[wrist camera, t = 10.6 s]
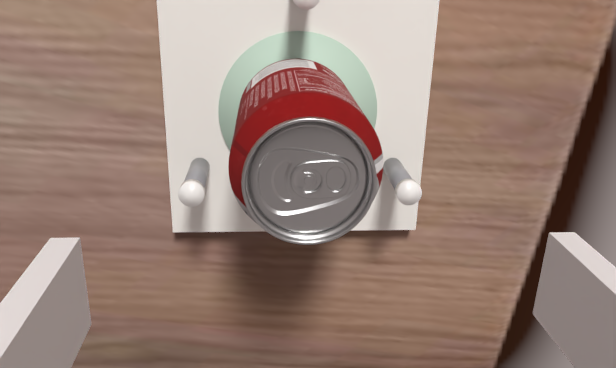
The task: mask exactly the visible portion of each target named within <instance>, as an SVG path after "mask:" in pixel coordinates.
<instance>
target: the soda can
mask: <svg viewBox="0 0 616 368" xmlns="http://www.w3.org/2000/svg"><path fill="white" fill-rule="evenodd" d="M228 168H229V179H230V184H231V188H232V190H233V193H234V196H235V198H236V200H237V202H238V203H239V205H240V206H241V208H242V209H243V210H244V212H245V213H246V214H247V215H248V216H249V217H250V218H251V219H252V220H253V221H254V222H255V223H257V224H258V225H259V226H260V227H261V228H263V229H264V230H265V231H266V232H268V233H269V234H271V235H272V236H274V237H276V238H278V239H280V240H283V241H286V242H289V243H294V244H301V245H314V244H321V243H325V242H329V241H332V240H334V239H337V238H339V237H341V236H343V235H344V234H346V233H348V232H349V231H350V230H352V229H353V228H354V227H355V226H356V225H357V224H358V223H359V222H360V221H361V220H362V219H363V218H364V216H365V215H366V213H367V212H368V210H369V208H370V206H371V204H372V202H373V200H374V199H375V197H376V195H377V192H378V190H379V187H380V184H381V180H382V175H383V153H382V148H381V144H380V141H379V138H378V136H377V134H376V132H375V130H374V128H373V127H372V125H371V123H370V122H369V120H368V119H367V117H366V116H365V114H364V113H363V111H362V110H361V109H360V107H359V106H358V104H357V103H356V101H355V100H354V98H353V97H352V95H351V94H350V92H349V91H348V89H347V88H346V86H345V85H344V83H343V82H342V81H341V79H340V78H339V77H338V76H337V75H336V74H335V73H334V72H333V71H332V70H330V69H329V68H327V67H326V66H324V65H322V64H320V63H318V62H315V61H312V60H308V59H301V58H292V59H285V60H280V61H277V62H274V63H272V64H270V65H268V66H266V67H265V68H263V69H262V70H260V71H259V72H258V73H257V74H256V75H255V76H254V77H253V78H252V79H251V80H250V82H249V83H248V85H247V86H246V88H245V90H244V92H243V94H242V97H241V100H240V104H239V109H238V114H237V119H236V124H235V129H234V134H233V139H232V144H231V149H230V155H229V165H228Z"/></svg>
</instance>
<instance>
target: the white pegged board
mask: <svg viewBox="0 0 616 368" xmlns="http://www.w3.org/2000/svg"><path fill="white" fill-rule="evenodd" d="M438 9H439V0H157V11H158V25H159V39H160V54H161V68H162V83H163V97H164V111H165V126H166V140H167V154H168V169H169V183H170V198H171V212H172V226H173V232H253V231H265V230H264V229H263V228H261V227H260V226H259V225H258V224H257V223H255V222H254V221H253V220H252V219H251V218H250V217H249V216H248V215H247V214H246V213H245V212H244V210H243V209H242V208H241V206H240V205H239V203H238V202H237V200H236V198H235V196H234V193H233V190H232V188H231V184H230V179H229V168H228V165H229V155H230V149H231V144H232V139H233V134H234V129H235V124H236V119H237V114H238V109H239V104H240V100H241V97H242V94H243V92H244V90H245V88H246V86H247V85H248V83H249V82H250V80H251V79H252V78H253V77H254V76H255V75H256V74H257V73H258V72H259V71H260V70H262V69H263V68H265V67H266V66H268V65H270V64H272V63H274V62H277V61H280V60H285V59H292V58H301V59H308V60H312V61H315V62H318V63H320V64H322V65H324V66H326V67H327V68H329V69H330V70H332V71H333V72H334V73H335V74H336V75H337V76H338V77H339V78H340V79H341V81H342V82H343V83H344V85H345V86H346V88H347V89H348V91H349V92H350V94H351V95H352V97H353V98H354V100H355V101H356V103H357V104H358V106H359V107H360V109H361V110H362V111H363V113H364V114H365V116H366V117H367V119H368V120H369V122H370V123H371V125H372V127H373V128H374V130H375V132H376V134H377V136H378V138H379V141H380V144H381V148H382V153H383V175H382V180H381V184H380V187H379V190H378V192H377V195H376V197H375V199H374V200H373V202H372V204H371V206H370V208H369V210H368V212H367V213H366V215H365V216H364V218H363V219H362V220H361V221H360V222H359V223H358V224H357V225H356V226H355V227H354V228H353V229H352V230H350V231H353V230H415V229H416V220H417V210H418V201H419V200H420V198H421V196H422V190H421V188H420V181H421V172H422V162H423V153H424V143H425V133H426V124H427V114H428V105H429V95H430V86H431V76H432V66H433V57H434V47H435V38H436V28H437V18H438Z"/></svg>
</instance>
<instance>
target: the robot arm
mask: <svg viewBox="0 0 616 368" xmlns="http://www.w3.org/2000/svg"><path fill="white" fill-rule="evenodd" d="M533 315H534V316H535V317H536V319H537V320H538V321H539V323H540V324H541V325H542V326H543V328H544V329H545V330H546V332H547V333H548V334H549V335H550V337H551V338H552V339H553V340H554V342H555V343H556V344H557V346H558V347H559V348H560V349H561V351H562V352H563V353H564V355H565V356H566V357H567V358H568V360H569V361H570V362H571V364H572V365H573V366H574V367H575V368H616V267H615V266H613V265H612V264H611V263H610V262H609V261H608V260H606V259H605V258H604V257H603V256H602V255H601V254H599V253H598V252H597V251H596V250H595V249H594V248H592V247H591V246H590V245H589V244H588V243H586V242H585V241H584V240H583V239H582V238H581V237H579V236H578V235H577V234H576V233H574V232H570V233H569V232H565V233H564V232H562V233H549V236H548V241H547V246H546V251H545V255H544V260H543V265H542V270H541V275H540V280H539V285H538V290H537V295H536V300H535V305H534V310H533ZM90 326H91V317H90V309H89V302H88V294H87V287H86V279H85V272H84V265H83V257H82V250H81V242H80V238H50V239H49V241H48V242H47V243H46V244H45V246H44V247H43V248H42V250H41V251H40V252H39V254H38V255H37V256H36V257H35V259H34V260H33V261H32V263H31V264H30V265H29V267H28V268H27V269H26V270H25V272H24V273H23V274H22V276H21V277H20V278H19V280H18V281H17V282H16V284H15V285H14V286H13V287H12V289H11V290H10V291H9V293H8V294H7V295H6V297H5V298H4V299H3V300H2V302H1V303H0V368H71V366H72V364H73V362H74V360H75V358H76V356H77V354H78V352H79V349H80V347H81V345H82V343H83V341H84V339H85V337H86V335H87V332H88V330H89V328H90Z"/></svg>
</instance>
